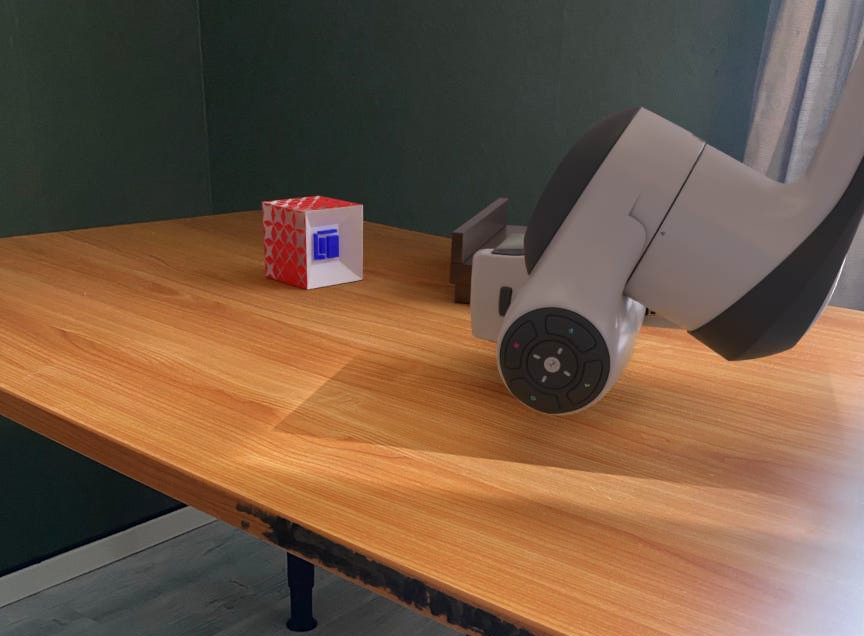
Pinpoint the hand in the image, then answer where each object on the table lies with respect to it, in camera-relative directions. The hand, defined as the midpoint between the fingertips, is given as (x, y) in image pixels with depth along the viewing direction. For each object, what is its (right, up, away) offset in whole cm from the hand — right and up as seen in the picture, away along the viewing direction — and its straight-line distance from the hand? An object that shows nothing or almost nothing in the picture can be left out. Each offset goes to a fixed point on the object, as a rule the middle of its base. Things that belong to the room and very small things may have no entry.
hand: (606, 267), depth 85 cm
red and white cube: (-27, +9, +28) cm, 40 cm away
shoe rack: (-3, +9, +28) cm, 29 cm away
